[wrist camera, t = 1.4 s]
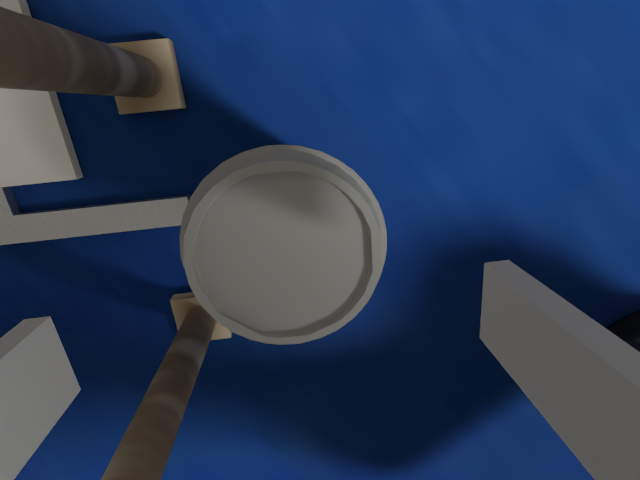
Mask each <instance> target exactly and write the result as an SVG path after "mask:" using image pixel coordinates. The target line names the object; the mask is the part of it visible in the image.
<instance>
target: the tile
mask: <svg viewBox="0 0 640 480" xmlns="http://www.w3.org/2000/svg"><path fill="white" fill-rule="evenodd" d="M0 7H3V8H6V9H9V10H12V11H15V12H17V13H20V14H23V15H26V16H29V17H32V16H31V13H30V10H29V7H28V4H27V1H26V0H0ZM80 178H83V175H82V172H81V168H80V165H79V162H78V159H77V156H76V153H75V150H74V147H73V144H72V140H71V137H70V134H69V131H68V128H67V125H66V122H65V119H64V116H63V113H62V109H61V106H60V103H59V100H58V97H57V94H56V92H50V91H35V90H21V89H6V88H0V187H9V186H19V185H28V184H38V183H47V182H57V181H66V180H76V179H80Z"/></svg>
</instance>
